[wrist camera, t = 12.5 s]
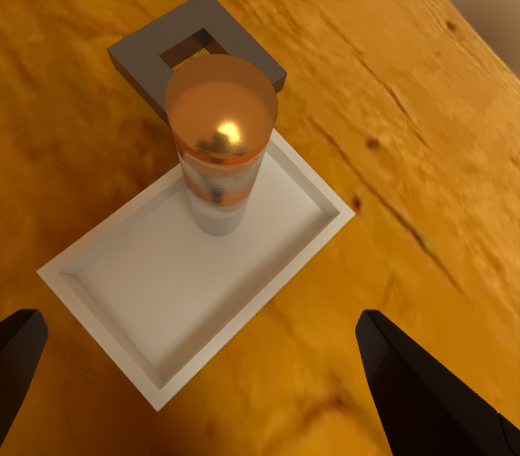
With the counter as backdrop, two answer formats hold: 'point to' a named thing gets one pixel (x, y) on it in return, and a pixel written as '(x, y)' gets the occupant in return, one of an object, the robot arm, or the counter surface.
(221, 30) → the grey flat square frame
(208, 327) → the parts tray
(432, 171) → the counter surface
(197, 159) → the pin
